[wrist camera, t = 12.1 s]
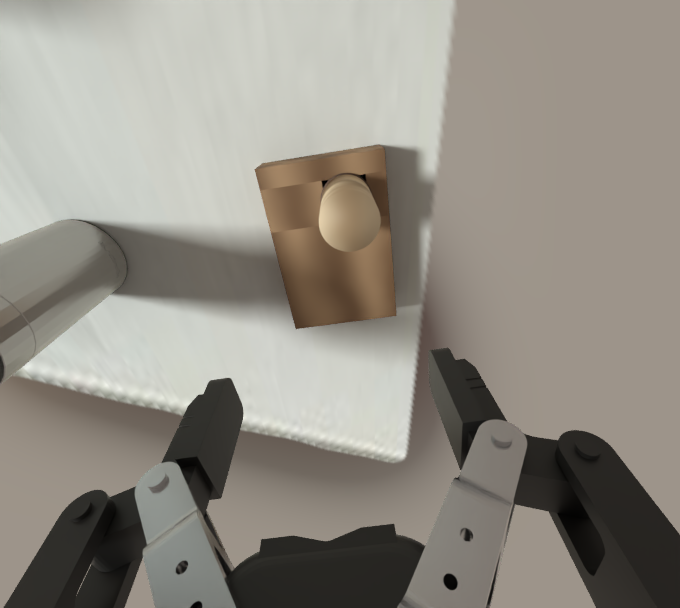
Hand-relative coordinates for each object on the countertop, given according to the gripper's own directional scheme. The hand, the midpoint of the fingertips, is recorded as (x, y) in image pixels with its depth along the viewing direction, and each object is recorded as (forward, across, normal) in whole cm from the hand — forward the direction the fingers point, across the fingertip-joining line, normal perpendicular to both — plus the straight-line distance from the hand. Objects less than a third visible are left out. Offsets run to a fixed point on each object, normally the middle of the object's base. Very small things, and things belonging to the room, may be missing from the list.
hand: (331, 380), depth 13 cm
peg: (+26, -2, -2) cm, 26 cm away
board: (+27, 0, +3) cm, 27 cm away
